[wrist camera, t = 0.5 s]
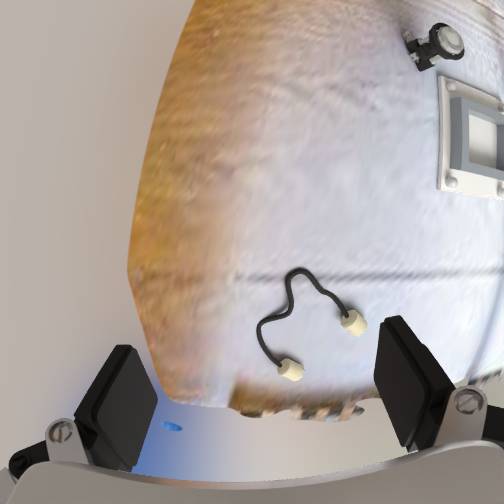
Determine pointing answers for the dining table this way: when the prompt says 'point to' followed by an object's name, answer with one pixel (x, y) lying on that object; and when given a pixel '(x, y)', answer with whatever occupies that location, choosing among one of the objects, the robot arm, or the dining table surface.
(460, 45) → the push button
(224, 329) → the dining table surface
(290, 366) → the cable
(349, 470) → the robot arm
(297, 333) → the dining table surface
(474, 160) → the frame
